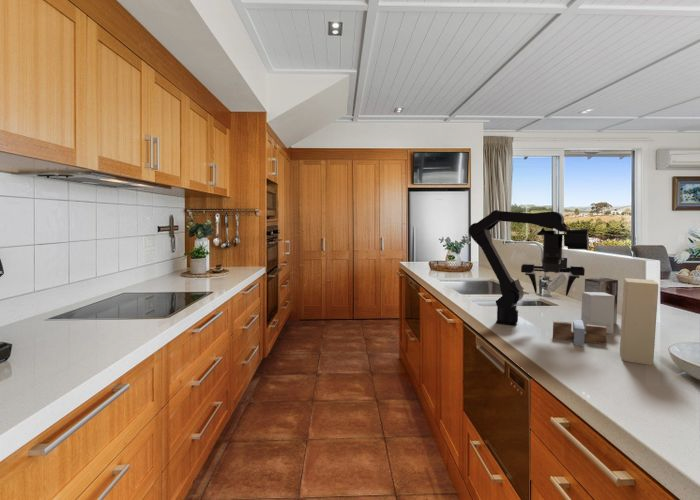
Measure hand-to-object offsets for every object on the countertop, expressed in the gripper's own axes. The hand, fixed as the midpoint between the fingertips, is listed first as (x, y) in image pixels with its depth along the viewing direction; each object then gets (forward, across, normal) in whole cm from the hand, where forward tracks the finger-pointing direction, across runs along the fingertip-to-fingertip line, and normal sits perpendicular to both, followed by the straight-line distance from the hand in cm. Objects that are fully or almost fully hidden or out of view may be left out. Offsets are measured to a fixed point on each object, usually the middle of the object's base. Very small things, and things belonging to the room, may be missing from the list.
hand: (550, 294), depth 129 cm
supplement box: (+12, +14, +6) cm, 20 cm away
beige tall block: (+12, +21, -22) cm, 33 cm away
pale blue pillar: (+12, +8, -10) cm, 18 cm away
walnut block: (+12, +8, -10) cm, 18 cm away
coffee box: (+12, +16, +19) cm, 28 cm away
